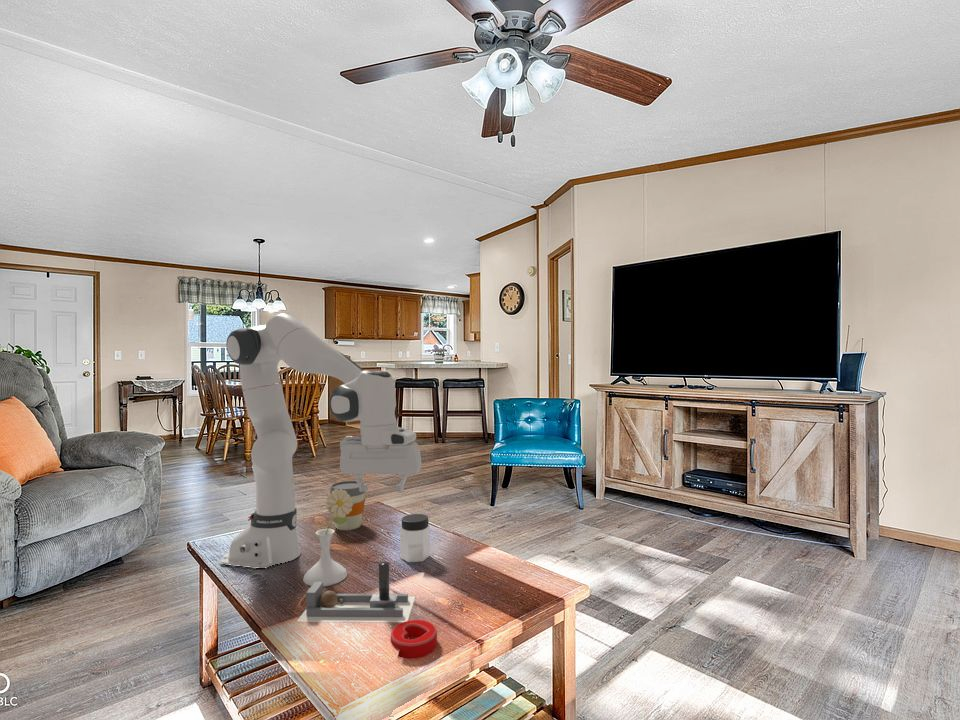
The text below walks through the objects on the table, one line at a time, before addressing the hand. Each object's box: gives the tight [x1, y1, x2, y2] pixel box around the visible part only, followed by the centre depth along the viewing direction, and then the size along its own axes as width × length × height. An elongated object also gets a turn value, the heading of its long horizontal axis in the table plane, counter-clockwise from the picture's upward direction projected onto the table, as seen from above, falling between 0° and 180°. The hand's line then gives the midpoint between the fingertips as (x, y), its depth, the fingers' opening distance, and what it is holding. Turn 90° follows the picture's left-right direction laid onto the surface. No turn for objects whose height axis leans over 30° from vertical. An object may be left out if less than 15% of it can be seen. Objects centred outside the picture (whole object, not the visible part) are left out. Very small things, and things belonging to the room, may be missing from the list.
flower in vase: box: [302, 489, 353, 587], centre depth 133 cm, size 13×11×25 cm
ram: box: [370, 561, 399, 608], centre depth 115 cm, size 6×3×10 cm, turn 89°
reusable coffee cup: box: [329, 480, 366, 531], centre depth 178 cm, size 13×13×15 cm
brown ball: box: [320, 590, 338, 608], centre depth 115 cm, size 4×4×4 cm
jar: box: [399, 513, 431, 563], centre depth 149 cm, size 9×8×12 cm
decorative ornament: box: [390, 619, 438, 660], centre depth 103 cm, size 10×10×3 cm
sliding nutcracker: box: [296, 582, 417, 623], centre depth 115 cm, size 25×12×6 cm, turn 89°
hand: (381, 491), depth 120 cm, fingers open, 8 cm apart
